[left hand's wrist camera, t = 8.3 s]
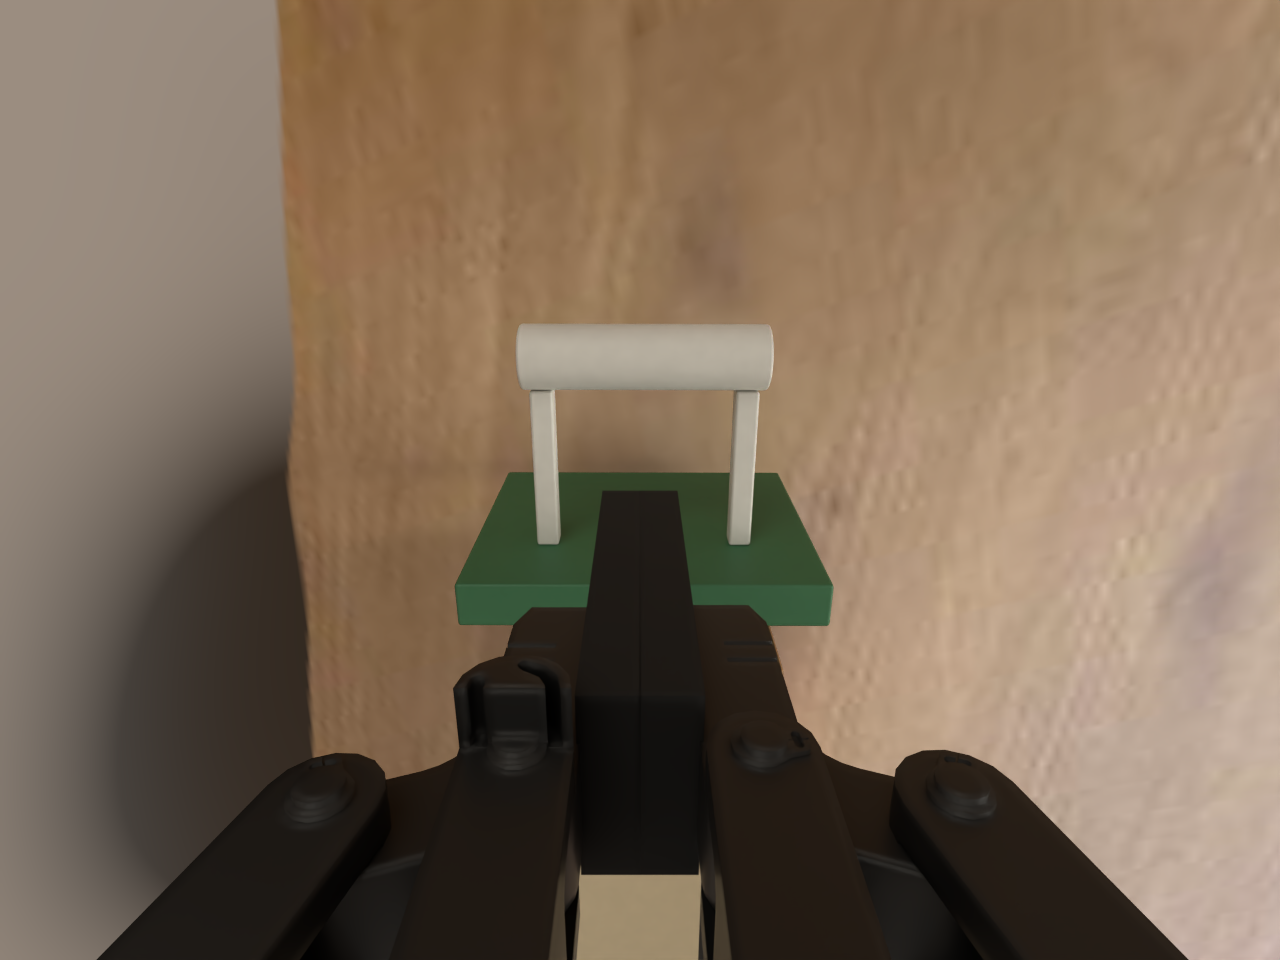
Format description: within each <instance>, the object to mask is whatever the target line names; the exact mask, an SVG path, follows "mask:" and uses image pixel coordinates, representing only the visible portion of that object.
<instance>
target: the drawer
mask: <svg viewBox="0 0 1280 960" xmlns="http://www.w3.org/2000/svg"><path fill="white" fill-rule="evenodd" d="M773 360H774V344H773V334H772V330H771V327H770V325H768V324H520V325H519V328H518V331H517V337H516V369H517V376H518V381H519V385H520V387H521V389H524V390H531V391H530V393H529V397H530V415H531V433H532V451H533V469H534V472H510V473H509V474H508V476H507V478H506V480H505V482H504V484H503V486H502V488H501V490H500V492H499V494H498V496H497V499H496V501H495V503H494V505H493V507H492V509H491V511H490V513H489V515H488V517H487V519H486V521H485V523H484V526H483V528H482V530H481V532H480V534H479V536H478V538H477V540H476V542H475V544H474V546H473V548H472V551H471V553H470V555H469V557H468V559H467V561H466V563H465V565H464V567H463V569H462V571H461V573H460V576H459V578H458V580H457V582H456V584H455V594H456V603H457V613H458V622H459V624H460V625H514V624H515V623H516V622H517V621H518V620H519V619H520V618H521V617H522V616H523V615H524V614H525V613H526V612H527V611H528V610H529V609H530V608H532V607H587V600H588V593H589V586H590V578H591V571H592V564H593V556H594V549H595V542H596V534H597V527H598V520H599V512H600V505H601V498H602V491H678V498H679V505H680V512H681V520H682V527H683V534H684V542H685V549H686V556H687V564H688V571H689V578H690V586H691V593H692V600H693V605H749V606H750V607H751V608H752V609H753V610H754V611H755V612H756V613H757V614H758V615H760V616H761V617H762V618H763V619H764V620H765V621H766V622H767V626H768V629H769V632H770V635H771V639H772V645H774V648H775V651H776V655H777V660H778V662H779V664H780V667H781V671H782V674H783V668H782V665H781V662H780V658H779V655H778V652H777V648H776V645H775V642H774V638H773V635H772V632H771V628H770V626H828V625H829V623H830V614H831V605H832V596H833V584H832V582H831V580H830V578H829V576H828V574H827V572H826V570H825V568H824V566H823V564H822V562H821V560H820V558H819V556H818V554H817V552H816V550H815V548H814V546H813V544H812V542H811V540H810V538H809V536H808V534H807V532H806V530H805V528H804V526H803V524H802V522H801V520H800V518H799V516H798V514H797V512H796V510H795V508H794V505H793V503H792V501H791V499H790V497H789V495H788V493H787V491H786V489H785V487H784V485H783V483H782V481H781V479H780V477H779V475H778V474H777V473H755V458H756V442H757V426H758V410H759V395H760V394H759V392H758V390H767V389H768V388H769V385H770V382H771V378H772V372H773ZM555 390H734V400H733V420H732V440H731V460H730V473H561V472H558V456H557V432H556V409H555Z"/></svg>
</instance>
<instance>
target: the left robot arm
mask: <svg viewBox="0 0 1280 960" xmlns="http://www.w3.org/2000/svg"><path fill="white" fill-rule="evenodd" d="M453 691H454V701H455V710H456V720H457V729H458V738H459V751H458V754H457V756H456V757H455V758H453V759H451V760H449V761H447V762H445V763H443V764H441V765H439V766H436V767H433V768H430V769H427V770H424V771H421V772H417V773H413V774H408V775H404V776H400V777H396V778H392V779H387V780H386V778H385V772H384V771H383V770H382V769H381V767H380V766H379V765H378V764H377V763H376V761H375V760H372V759H370V758H367V757H365V756H362V755H360V754H350V753H334V754H329V755H325V756H320V757H316V758H311V759H309V760H307V761H305V762H303V763H301V764H299V765H296V766H294V767H292V768H290V769H288V770H286V771H285V772H284V773H283V774H281V775H280V776H279V777H277V778H276V779H275V780H274V781H272V782H271V783H270V784H269V785H267V786H266V787H265V788H264V789H263V790H262V791H261V793H260V794H259V795H258V796H257V797H256V798H255V799H254V800H253V801H252V802H251V803H250V804H249V805H248V806H247V807H246V808H245V809H244V810H243V811H242V812H241V813H240V814H239V815H238V816H237V817H236V818H235V819H234V820H233V821H232V822H231V823H230V824H229V825H228V826H227V827H226V828H225V829H224V830H223V831H222V832H221V833H220V834H219V835H218V836H217V837H216V838H215V839H214V840H213V841H212V843H211V844H210V845H209V846H208V847H207V848H206V849H205V850H204V851H203V852H202V853H201V854H200V855H199V856H198V857H197V858H196V859H195V860H194V861H193V862H192V863H191V864H190V865H189V866H188V867H187V868H186V869H185V870H184V871H183V872H182V873H181V874H180V875H179V876H178V877H177V878H176V879H175V880H174V881H173V882H172V883H171V884H170V885H169V886H168V887H167V888H166V889H165V890H164V891H163V893H162V894H161V895H160V896H159V897H158V898H157V899H156V900H155V901H154V902H153V903H152V904H151V905H150V906H149V907H148V908H147V909H146V910H145V911H144V912H143V913H142V914H141V915H140V916H139V917H138V918H137V919H136V920H135V921H134V922H133V923H132V924H131V925H130V926H129V927H128V928H127V929H126V930H125V931H124V932H123V933H122V934H121V935H120V936H119V937H118V938H117V940H116V941H115V942H114V943H113V944H112V945H111V946H110V947H109V948H108V949H107V950H106V951H105V952H104V953H103V954H102V955H101V956H100V957H99V958H98V959H97V960H576V959H577V947H578V935H579V923H580V899H579V878H580V867H581V875H699V863H700V874H701V899H700V924H699V950H698V960H1188V959H1187V958H1186V957H1185V956H1184V955H1183V954H1182V953H1181V952H1180V951H1179V950H1178V949H1177V948H1176V947H1175V946H1174V945H1173V944H1172V943H1171V942H1170V941H1169V939H1168V938H1167V937H1166V936H1165V935H1164V934H1163V933H1162V932H1161V931H1160V930H1159V929H1158V928H1157V927H1156V926H1155V925H1154V924H1153V923H1152V922H1151V921H1150V920H1149V919H1148V918H1147V917H1146V916H1145V915H1144V914H1143V913H1142V912H1141V911H1140V910H1139V909H1138V908H1137V907H1136V906H1135V905H1134V904H1133V903H1132V902H1131V901H1130V900H1129V899H1128V898H1127V897H1126V896H1125V895H1124V894H1123V893H1122V892H1121V891H1120V890H1119V889H1118V888H1117V887H1116V886H1115V885H1114V884H1113V883H1112V882H1111V881H1110V880H1109V879H1108V878H1107V877H1106V876H1105V875H1104V874H1103V873H1102V872H1101V871H1100V870H1099V869H1098V868H1097V867H1096V866H1095V865H1094V863H1093V862H1092V861H1091V860H1090V859H1089V858H1088V857H1087V856H1086V855H1085V854H1084V853H1083V852H1082V851H1081V850H1080V849H1079V848H1078V847H1077V846H1076V845H1075V844H1074V843H1073V842H1072V841H1071V840H1070V839H1069V838H1068V837H1067V836H1066V835H1065V834H1064V833H1063V832H1062V831H1061V830H1060V829H1059V828H1058V827H1057V826H1056V825H1055V824H1054V823H1053V822H1052V821H1051V820H1050V819H1049V818H1048V817H1047V816H1046V815H1045V814H1044V813H1043V812H1042V811H1041V810H1040V809H1039V808H1038V807H1037V806H1036V805H1035V804H1034V803H1033V802H1032V801H1031V800H1030V799H1029V798H1028V797H1027V796H1026V795H1025V794H1024V793H1023V792H1022V791H1021V790H1020V788H1019V787H1018V786H1017V785H1016V784H1015V783H1014V782H1013V781H1011V780H1010V779H1009V778H1007V777H1006V776H1005V775H1003V774H1002V773H1001V772H1000V771H998V770H997V769H996V768H994V767H993V766H991V765H989V764H987V763H985V762H983V761H980V760H978V759H976V758H974V757H972V756H970V755H965V754H961V753H956V752H952V751H947V750H927V751H921V752H918V753H915V754H913V755H910V756H908V757H906V758H905V759H904V760H903V761H902V762H901V764H900V765H899V766H898V767H897V769H896V772H895V777H893V776H889V775H884V774H880V773H876V772H872V771H867V770H863V769H859V768H856V767H853V766H850V765H847V764H844V763H841V762H839V761H837V760H835V759H833V758H831V757H829V756H827V755H825V754H824V753H823V752H822V750H821V747H820V746H819V744H818V742H817V741H816V739H815V738H814V736H813V734H812V733H811V732H810V731H809V730H807V729H806V728H805V727H803V726H802V725H801V724H799V723H798V722H797V719H796V716H795V713H794V709H793V706H792V703H791V700H790V696H789V693H788V690H787V687H786V684H785V680H784V677H783V674H782V671H781V667H780V664H779V662H778V660H777V655H776V651H775V648H774V645H772V639H771V635H770V632H769V629H768V626H767V622H766V621H765V620H764V619H763V618H762V617H761V616H760V615H758V614H757V613H756V612H755V611H754V610H753V609H752V608H751V607H750V606H749V605H693V600H692V593H691V586H690V578H689V571H688V564H687V556H686V549H685V542H684V534H683V527H682V520H681V512H680V505H679V498H678V491H602V498H601V505H600V512H599V520H598V527H597V534H596V542H595V549H594V556H593V564H592V571H591V578H590V586H589V593H588V600H587V607H532V608H530V609H529V610H528V611H527V612H526V613H525V614H524V615H523V616H522V617H521V618H520V619H519V620H518V621H517V622H516V623H515V624H514V625H513V628H512V632H511V635H510V638H509V641H508V648H506V651H505V654H504V656H503V657H498V658H495V659H492V660H489V661H486V662H483V663H480V664H478V665H477V666H475V667H474V668H472V669H471V670H469V671H468V672H466V673H465V674H463V675H462V677H461V678H460V679H459V681H458V682H457V684H456V685H455V686H454V688H453Z"/></svg>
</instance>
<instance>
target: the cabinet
mask: <svg viewBox="0 0 1280 960" xmlns="http://www.w3.org/2000/svg"><path fill="white" fill-rule="evenodd" d="M579 899H580V923H579V935H578V947H577V959H576V960H698V950H699V924H700V899H701V874H700V863H699V875H581V867H580V878H579Z"/></svg>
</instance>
